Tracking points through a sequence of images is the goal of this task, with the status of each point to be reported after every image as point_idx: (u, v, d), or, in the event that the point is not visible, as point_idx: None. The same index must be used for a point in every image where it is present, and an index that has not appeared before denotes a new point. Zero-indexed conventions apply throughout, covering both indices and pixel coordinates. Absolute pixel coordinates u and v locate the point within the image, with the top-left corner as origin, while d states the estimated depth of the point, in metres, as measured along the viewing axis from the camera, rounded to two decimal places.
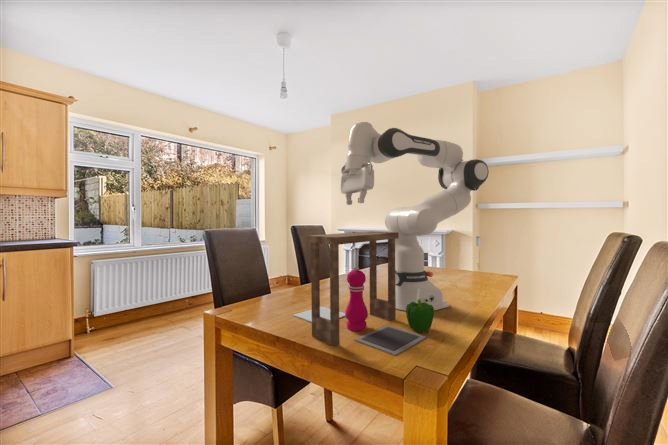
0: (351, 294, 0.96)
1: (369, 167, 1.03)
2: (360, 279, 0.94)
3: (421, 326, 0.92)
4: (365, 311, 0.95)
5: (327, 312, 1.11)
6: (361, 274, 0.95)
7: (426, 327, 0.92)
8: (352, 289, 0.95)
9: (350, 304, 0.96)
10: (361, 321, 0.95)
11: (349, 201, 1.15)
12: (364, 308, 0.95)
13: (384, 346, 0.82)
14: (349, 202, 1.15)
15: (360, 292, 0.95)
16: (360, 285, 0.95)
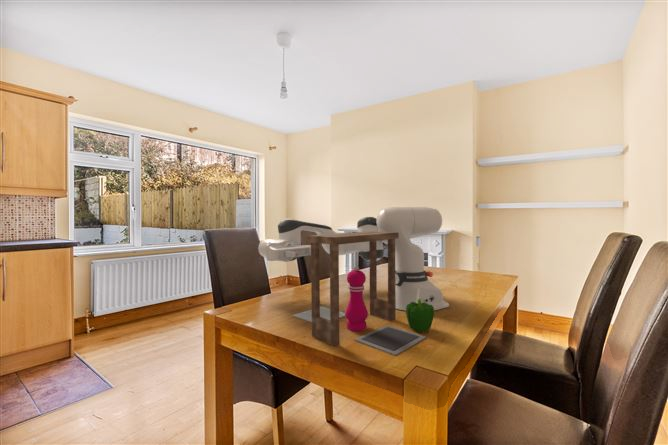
0: (351, 294, 0.96)
1: None
2: (360, 279, 0.94)
3: (421, 326, 0.92)
4: (365, 311, 0.95)
5: (327, 312, 1.11)
6: (361, 274, 0.95)
7: (426, 327, 0.92)
8: (352, 289, 0.95)
9: (350, 304, 0.96)
10: (361, 321, 0.95)
11: None
12: (364, 308, 0.95)
13: (384, 346, 0.82)
14: None
15: (360, 292, 0.95)
16: (360, 285, 0.95)
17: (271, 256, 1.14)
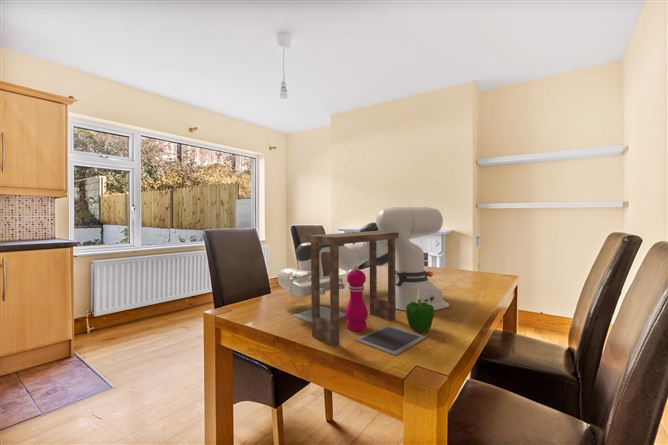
0: (351, 294, 0.96)
1: None
2: (360, 279, 0.94)
3: (421, 326, 0.92)
4: (365, 311, 0.95)
5: (327, 312, 1.11)
6: (361, 274, 0.95)
7: (426, 327, 0.92)
8: (352, 289, 0.95)
9: (350, 304, 0.96)
10: (361, 321, 0.95)
11: None
12: (364, 308, 0.95)
13: (384, 346, 0.82)
14: None
15: (360, 292, 0.95)
16: (360, 285, 0.95)
17: (296, 293, 1.03)
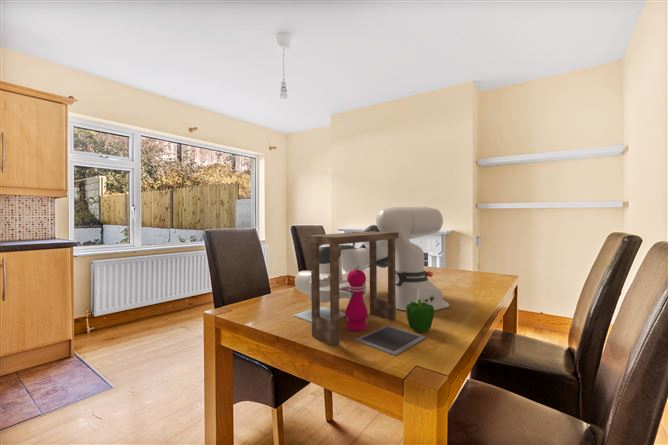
0: None
1: None
2: (361, 279, 0.94)
3: (421, 326, 0.92)
4: (365, 311, 0.95)
5: (327, 312, 1.11)
6: (361, 274, 0.95)
7: (426, 327, 0.92)
8: (352, 289, 0.95)
9: (350, 304, 0.96)
10: (361, 321, 0.95)
11: None
12: (364, 308, 0.95)
13: (384, 346, 0.82)
14: None
15: (360, 292, 0.96)
16: (360, 285, 0.95)
17: None
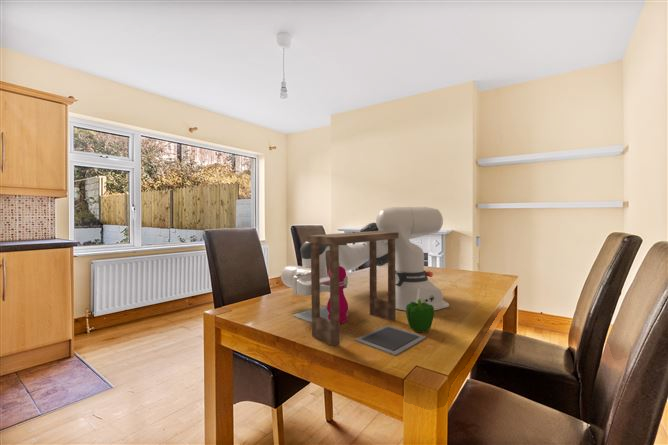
0: None
1: None
2: (341, 275, 1.00)
3: (421, 326, 0.92)
4: (345, 304, 1.01)
5: (327, 312, 1.11)
6: (341, 270, 1.00)
7: (426, 327, 0.92)
8: None
9: None
10: (341, 314, 1.00)
11: None
12: (344, 302, 1.01)
13: (384, 346, 0.82)
14: None
15: (341, 287, 1.01)
16: (340, 280, 1.01)
17: (300, 292, 1.01)
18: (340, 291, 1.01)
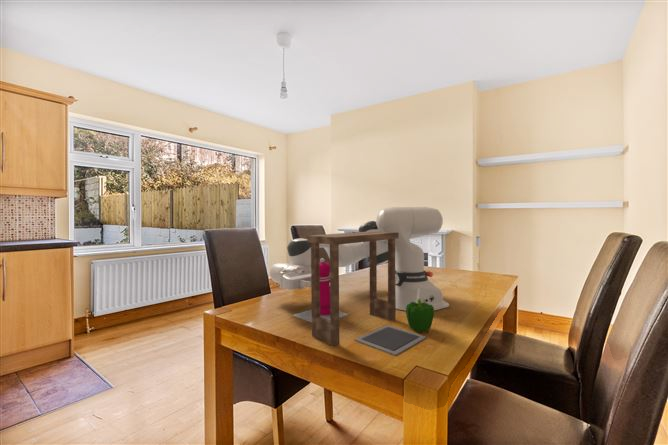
0: None
1: None
2: (326, 270, 1.07)
3: (421, 326, 0.92)
4: None
5: None
6: (326, 266, 1.08)
7: (426, 327, 0.92)
8: None
9: None
10: (328, 306, 1.09)
11: None
12: None
13: (384, 346, 0.82)
14: None
15: (326, 281, 1.09)
16: (326, 275, 1.08)
17: (285, 286, 1.08)
18: (326, 285, 1.09)
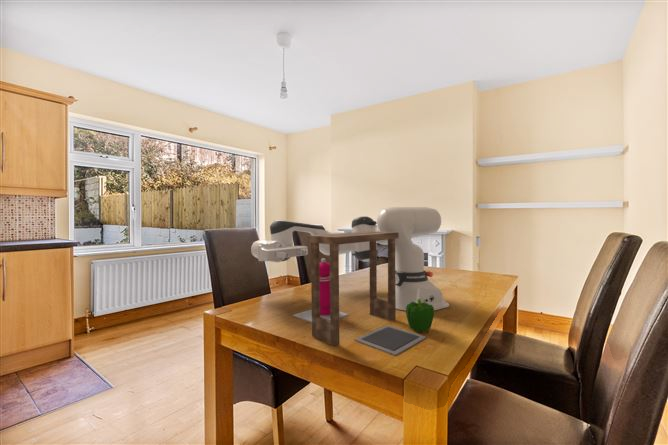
0: None
1: None
2: (326, 270, 1.07)
3: (421, 326, 0.92)
4: None
5: None
6: (327, 266, 1.08)
7: (426, 327, 0.92)
8: (320, 279, 1.08)
9: None
10: (328, 306, 1.09)
11: None
12: None
13: (384, 346, 0.82)
14: None
15: (327, 281, 1.09)
16: (327, 275, 1.08)
17: (262, 257, 1.16)
18: (327, 285, 1.09)
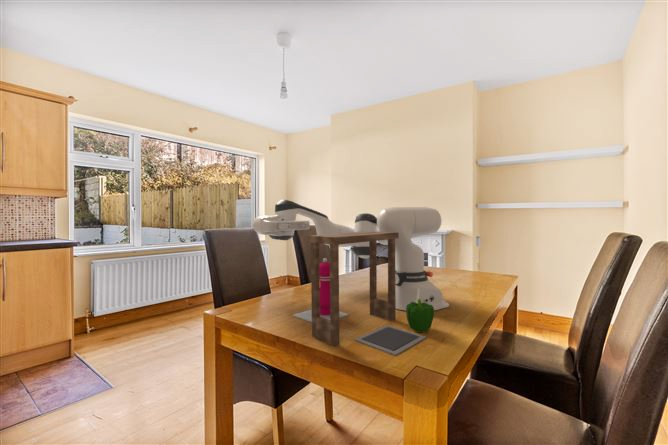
0: (320, 283, 1.10)
1: None
2: (328, 270, 1.08)
3: (421, 326, 0.92)
4: None
5: None
6: (329, 265, 1.09)
7: (426, 327, 0.92)
8: (321, 278, 1.09)
9: None
10: (329, 306, 1.09)
11: None
12: None
13: (384, 346, 0.82)
14: None
15: (328, 281, 1.09)
16: (328, 275, 1.09)
17: (265, 229, 1.16)
18: (327, 285, 1.09)
